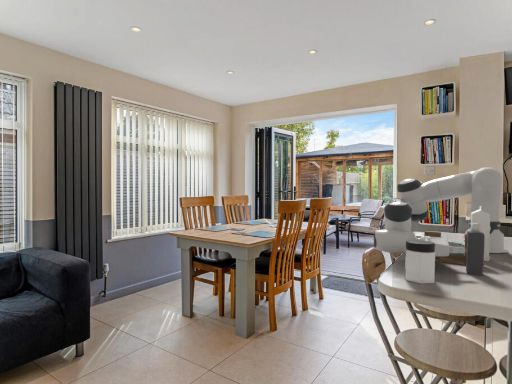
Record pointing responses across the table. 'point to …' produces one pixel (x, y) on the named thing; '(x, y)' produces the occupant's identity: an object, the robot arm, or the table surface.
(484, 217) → the milk
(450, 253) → the teal block
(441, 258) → the brown notched panel
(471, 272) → the grey capped bottle
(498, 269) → the table surface
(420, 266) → the jar
